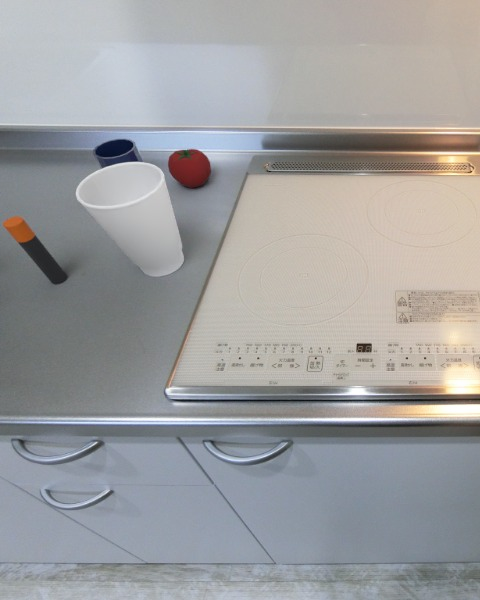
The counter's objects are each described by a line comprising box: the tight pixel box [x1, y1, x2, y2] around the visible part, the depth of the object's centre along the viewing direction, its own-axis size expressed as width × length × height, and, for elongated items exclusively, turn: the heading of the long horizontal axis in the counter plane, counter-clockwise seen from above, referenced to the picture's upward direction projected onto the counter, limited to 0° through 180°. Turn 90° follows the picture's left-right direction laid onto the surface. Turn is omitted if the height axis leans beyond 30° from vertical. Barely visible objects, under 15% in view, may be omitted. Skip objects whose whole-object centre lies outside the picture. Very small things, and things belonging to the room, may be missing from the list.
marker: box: [2, 216, 68, 285], centre depth 68 cm, size 2×2×12 cm
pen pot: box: [92, 138, 146, 169], centre depth 88 cm, size 8×8×8 cm
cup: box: [75, 161, 185, 278], centre depth 69 cm, size 12×12×16 cm
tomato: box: [167, 148, 212, 189], centre depth 89 cm, size 8×8×7 cm
